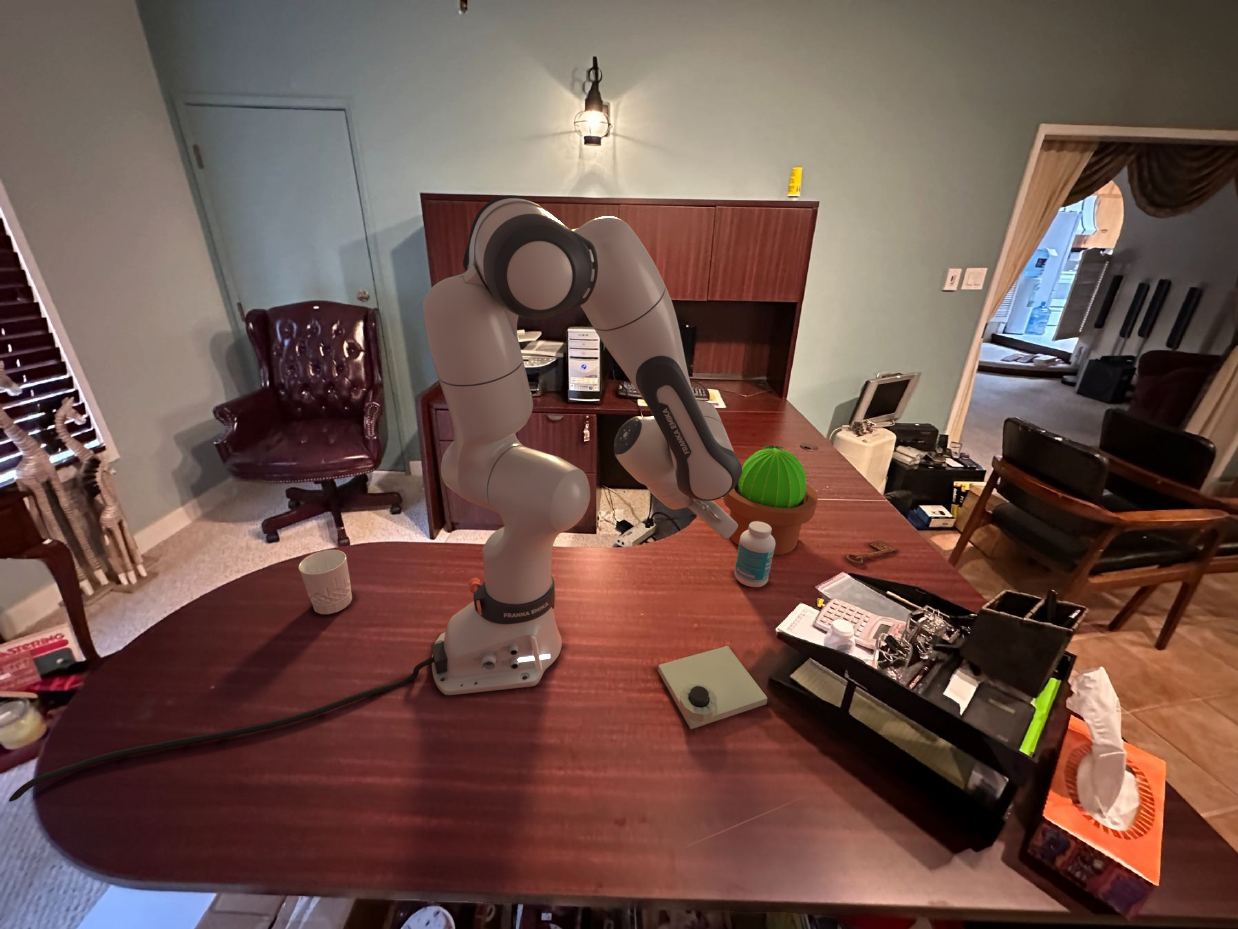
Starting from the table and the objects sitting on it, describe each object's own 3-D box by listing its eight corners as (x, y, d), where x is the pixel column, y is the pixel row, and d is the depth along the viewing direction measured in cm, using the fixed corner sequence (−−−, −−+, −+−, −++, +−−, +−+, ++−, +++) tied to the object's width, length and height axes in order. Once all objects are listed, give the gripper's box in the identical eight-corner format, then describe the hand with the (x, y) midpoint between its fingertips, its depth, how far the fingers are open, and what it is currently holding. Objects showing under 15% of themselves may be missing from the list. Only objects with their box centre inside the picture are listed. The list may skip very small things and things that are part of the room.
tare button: (695, 710, 76) (696, 702, 75) (686, 695, 78) (687, 688, 78) (711, 705, 77) (712, 697, 76) (702, 690, 79) (703, 683, 78)
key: (881, 543, 127) (837, 554, 121) (882, 540, 126) (837, 551, 121) (901, 554, 122) (856, 566, 116) (902, 551, 121) (857, 562, 116)
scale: (689, 732, 75) (691, 718, 74) (655, 671, 86) (656, 658, 84) (767, 706, 80) (770, 692, 79) (726, 651, 90) (728, 638, 89)
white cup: (364, 597, 99) (355, 556, 95) (328, 622, 93) (317, 579, 89) (337, 585, 102) (327, 545, 98) (300, 608, 96) (288, 566, 92)
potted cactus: (796, 573, 113) (819, 474, 103) (705, 543, 123) (718, 450, 112) (813, 530, 131) (834, 442, 120) (733, 507, 140) (746, 424, 130)
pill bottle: (768, 591, 107) (779, 538, 101) (734, 586, 108) (743, 533, 102) (766, 571, 113) (776, 520, 108) (733, 566, 115) (742, 515, 109)
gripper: (723, 496, 82) (760, 535, 90) (661, 451, 98) (697, 486, 106) (697, 525, 82) (736, 560, 90) (640, 474, 98) (678, 508, 106)
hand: (715, 520), depth 98 cm, fingers open, 7 cm apart
